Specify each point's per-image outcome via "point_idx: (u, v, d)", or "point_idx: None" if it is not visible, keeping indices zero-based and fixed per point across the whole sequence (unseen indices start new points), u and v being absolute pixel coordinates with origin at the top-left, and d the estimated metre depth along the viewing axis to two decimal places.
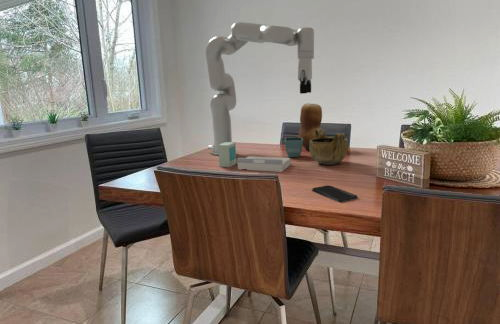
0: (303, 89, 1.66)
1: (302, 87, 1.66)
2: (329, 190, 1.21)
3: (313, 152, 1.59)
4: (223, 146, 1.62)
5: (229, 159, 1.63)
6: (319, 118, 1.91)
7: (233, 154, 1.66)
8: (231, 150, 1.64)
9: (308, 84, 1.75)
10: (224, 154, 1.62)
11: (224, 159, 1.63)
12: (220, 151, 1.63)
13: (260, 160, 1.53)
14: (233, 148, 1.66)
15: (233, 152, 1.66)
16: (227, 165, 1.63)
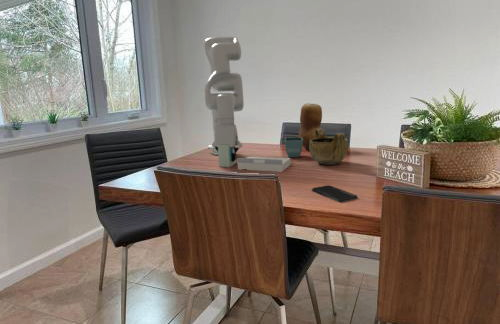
0: (235, 157, 1.65)
1: (235, 155, 1.65)
2: (329, 190, 1.21)
3: (313, 152, 1.59)
4: (223, 146, 1.62)
5: (229, 159, 1.63)
6: (319, 118, 1.91)
7: None
8: (231, 150, 1.64)
9: None
10: (224, 154, 1.62)
11: (224, 159, 1.63)
12: (220, 151, 1.63)
13: (260, 160, 1.53)
14: None
15: None
16: (227, 165, 1.63)
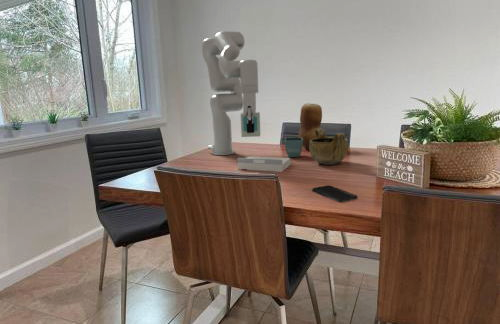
0: (250, 128, 1.54)
1: (249, 126, 1.54)
2: (329, 190, 1.21)
3: (313, 152, 1.59)
4: (241, 114, 1.57)
5: (242, 129, 1.56)
6: (319, 118, 1.91)
7: None
8: (246, 120, 1.55)
9: None
10: None
11: None
12: None
13: (260, 160, 1.53)
14: None
15: None
16: None
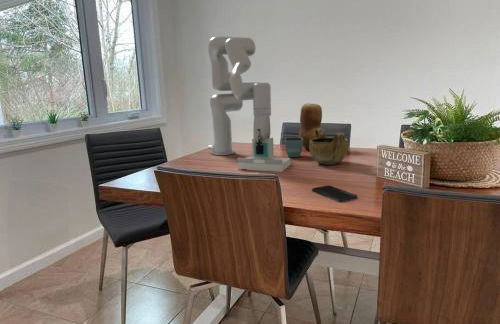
0: (259, 150, 1.53)
1: (258, 148, 1.53)
2: (329, 190, 1.21)
3: (313, 152, 1.59)
4: None
5: (253, 154, 1.57)
6: (319, 118, 1.91)
7: None
8: None
9: None
10: None
11: None
12: None
13: (260, 160, 1.53)
14: None
15: None
16: None
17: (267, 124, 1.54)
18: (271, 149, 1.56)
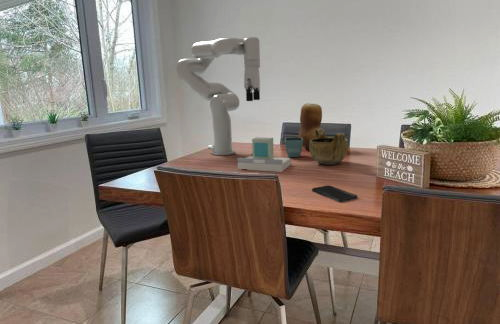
0: (249, 97, 1.71)
1: (248, 95, 1.71)
2: (329, 190, 1.21)
3: (313, 152, 1.59)
4: None
5: (253, 154, 1.57)
6: (319, 118, 1.91)
7: (263, 150, 1.55)
8: (257, 145, 1.55)
9: (256, 92, 1.80)
10: None
11: None
12: None
13: (260, 160, 1.53)
14: (262, 144, 1.55)
15: (262, 149, 1.55)
16: None
17: (256, 75, 1.73)
18: (271, 149, 1.56)
